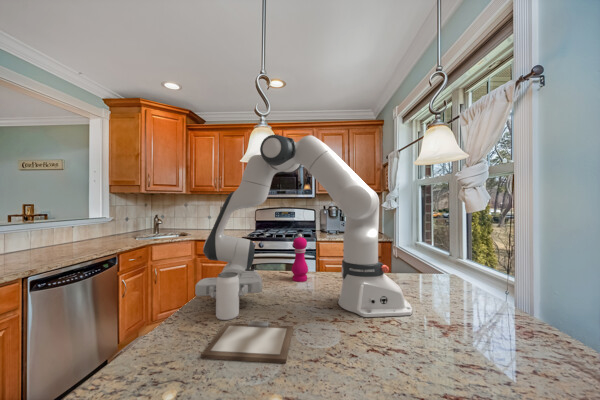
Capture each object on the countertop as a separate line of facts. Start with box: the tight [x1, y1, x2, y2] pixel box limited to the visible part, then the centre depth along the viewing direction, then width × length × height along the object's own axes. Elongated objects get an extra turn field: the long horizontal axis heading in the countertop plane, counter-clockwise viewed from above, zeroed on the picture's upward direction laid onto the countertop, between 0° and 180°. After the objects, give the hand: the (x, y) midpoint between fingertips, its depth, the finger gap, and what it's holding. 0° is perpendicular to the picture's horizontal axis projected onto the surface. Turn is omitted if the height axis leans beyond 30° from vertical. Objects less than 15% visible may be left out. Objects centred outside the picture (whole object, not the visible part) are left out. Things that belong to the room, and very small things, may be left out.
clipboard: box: [200, 320, 294, 364], centre depth 59 cm, size 18×14×2 cm
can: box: [215, 272, 240, 321], centre depth 73 cm, size 6×6×12 cm
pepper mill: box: [291, 233, 309, 283], centre depth 108 cm, size 7×7×20 cm
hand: (227, 294), depth 72 cm, fingers closed on can, 6 cm apart
